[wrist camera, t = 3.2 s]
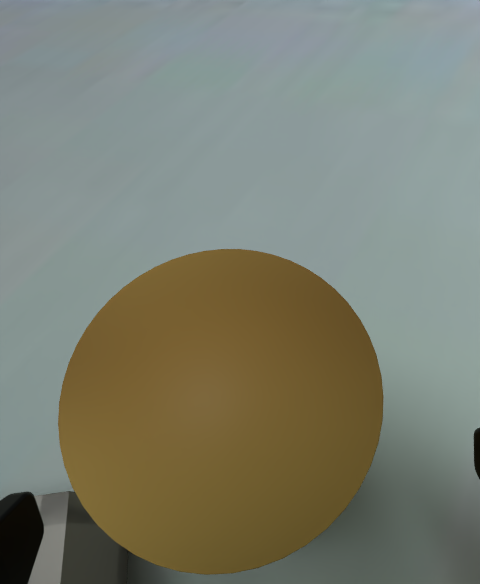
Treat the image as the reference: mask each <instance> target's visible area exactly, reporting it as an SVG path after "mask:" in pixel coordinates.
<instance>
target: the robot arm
mask: <svg viewBox="0 0 480 584" xmlns="http://www.w3.org/2000/svg"><path fill="white" fill-rule="evenodd" d="M474 465H475V470H476V473H477V475H478V477H479V479H480V428H477V429H476V430H475V432H474ZM43 534H44V523H43V520H42V517H41V514H40V511H39V508H38V505H37V502H36V499H35V497H34V495H33V494H32V493H31V492H21V493H14V494H10V495H8V496H6V497H5V498H3V499H2V500H1V501H0V584H28V582H29V579H30V576H31V572H32V569H33V566H34V563H35V560H36V557H37V554H38V551H39V548H40V545H41V542H42V539H43Z"/></svg>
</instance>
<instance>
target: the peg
mask: <svg viewBox="0 0 480 584" xmlns="http://www.w3.org/2000/svg"><path fill="white" fill-rule="evenodd" d="M382 418H383V389H382V378H381V373H380V368H379V364H378V360H377V356H376V353H375V350H374V348H373V345H372V342H371V340H370V337H369V335H368V333H367V331H366V330H365V328H364V326H363V324H362V322H361V320H360V319H359V317H358V316H357V315H356V313H355V312H354V310H353V309H352V308H351V306H350V305H349V304H348V302H347V301H346V300H345V299H344V298H343V297H342V296H341V295H340V294H339V293H338V292H337V291H336V290H335V289H334V288H333V287H332V286H330V285H329V284H328V283H327V282H326V281H324V280H323V279H322V278H321V277H319V276H317V275H316V274H314V273H313V272H311V271H310V270H308V269H306V268H304V267H302V266H300V265H298V264H296V263H294V262H292V261H290V260H287V259H284V258H281V257H278V256H275V255H272V254H267V253H263V252H258V251H251V250H242V249H219V250H210V251H203V252H198V253H193V254H189V255H185V256H182V257H179V258H176V259H173V260H170V261H168V262H166V263H163V264H161V265H159V266H157V267H154V268H153V269H151V270H149V271H147V272H146V273H144V274H142V275H140V276H139V277H137V278H136V279H135V280H133V281H132V282H130V283H129V284H128V285H126V286H125V287H124V288H122V289H121V290H120V291H119V292H118V293H117V294H116V295H115V296H113V297H112V298H111V299H110V300H109V301H108V302H107V303H106V305H105V306H104V307H103V308H102V309H101V310H100V311H99V312H98V313H97V315H96V316H95V317H94V319H93V320H92V322H91V323H90V324H89V326H88V327H87V328H86V330H85V332H84V334H83V335H82V337H81V339H80V340H79V342H78V344H77V346H76V348H75V350H74V353H73V355H72V357H71V359H70V362H69V364H68V368H67V371H66V374H65V377H64V381H63V385H62V391H61V396H60V402H59V418H58V426H59V440H60V447H61V452H62V457H63V461H64V466H65V468H66V471H67V474H68V477H69V479H70V482H71V485H72V487H73V489H74V491H75V493H76V494H77V496H78V498H79V500H80V502H81V504H82V505H83V507H84V508H85V510H86V511H87V512H88V513H89V515H90V516H91V517H92V519H93V520H94V521H95V523H96V524H97V525H98V526H99V527H100V528H101V529H102V530H103V531H104V532H105V533H106V534H107V535H108V536H110V537H111V538H112V539H113V540H114V541H115V542H117V543H118V544H119V545H121V546H122V547H124V548H125V549H127V550H128V551H130V552H131V553H133V554H134V555H136V556H138V557H141V558H143V559H145V560H147V561H149V562H151V563H153V564H155V565H159V566H162V567H166V568H169V569H173V570H176V571H180V572H188V573H197V574H206V575H208V574H227V573H236V572H241V571H245V570H250V569H255V568H259V567H261V566H264V565H267V564H269V563H272V562H275V561H277V560H280V559H282V558H284V557H286V556H288V555H290V554H291V553H293V552H295V551H297V550H298V549H300V548H302V547H304V546H305V545H307V544H308V543H309V542H311V541H312V540H313V539H314V538H316V537H317V536H318V535H319V534H321V533H322V532H323V531H324V530H326V529H327V528H328V527H329V526H330V525H331V524H332V523H333V522H334V521H335V519H336V518H337V517H338V516H339V515H340V514H341V513H342V512H343V511H344V510H345V509H346V507H347V506H348V504H349V503H350V501H351V500H352V498H353V497H354V496H355V494H356V493H357V491H358V490H359V488H360V486H361V484H362V482H363V480H364V478H365V476H366V474H367V472H368V470H369V468H370V466H371V463H372V460H373V457H374V454H375V451H376V448H377V445H378V442H379V436H380V431H381V425H382Z"/></svg>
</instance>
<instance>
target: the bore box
mask: <svg viewBox="0 0 480 584" xmlns="http://www.w3.org/2000/svg"><path fill="white" fill-rule="evenodd" d="M34 497H35V499H36V502H37V505H38V508H39V511H40V514H41V517H42V520H43V523H44V534H43V539H42V542H41V545H40V548H39V551H38V554H37V557H36V560H35V563H34V566H33V569H32V572H31V576H30V579H29V582H28V584H127V563H128V550H127V549H125V548H124V547H122V546H121V545H119V544H118V543H117V542H115V541H114V540H113V539H112V538H111V537H110V536H108V535H107V534H106V533H105V532H104V531H103V530H102V529H101V528H100V527H99V526H98V525H97V524H96V523H95V521H94V520H93V519H92V517H91V516H90V515H89V513H88V512H87V511H86V510H85V508H84V507H83V505H82V504H81V502H80V500H79V498H78V496H77V494H76V493H75V492H71V491H67V492H60V493H53V494H46V495H38V496H34Z"/></svg>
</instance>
